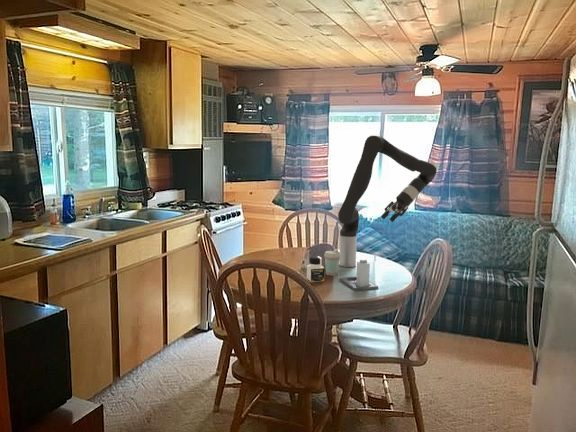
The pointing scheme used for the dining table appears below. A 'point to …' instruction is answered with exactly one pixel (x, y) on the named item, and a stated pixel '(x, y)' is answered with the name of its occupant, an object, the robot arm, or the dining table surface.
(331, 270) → the coffee cup
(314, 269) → the medicine bottle
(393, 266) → the dining table surface
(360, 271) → the plug
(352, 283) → the panel
